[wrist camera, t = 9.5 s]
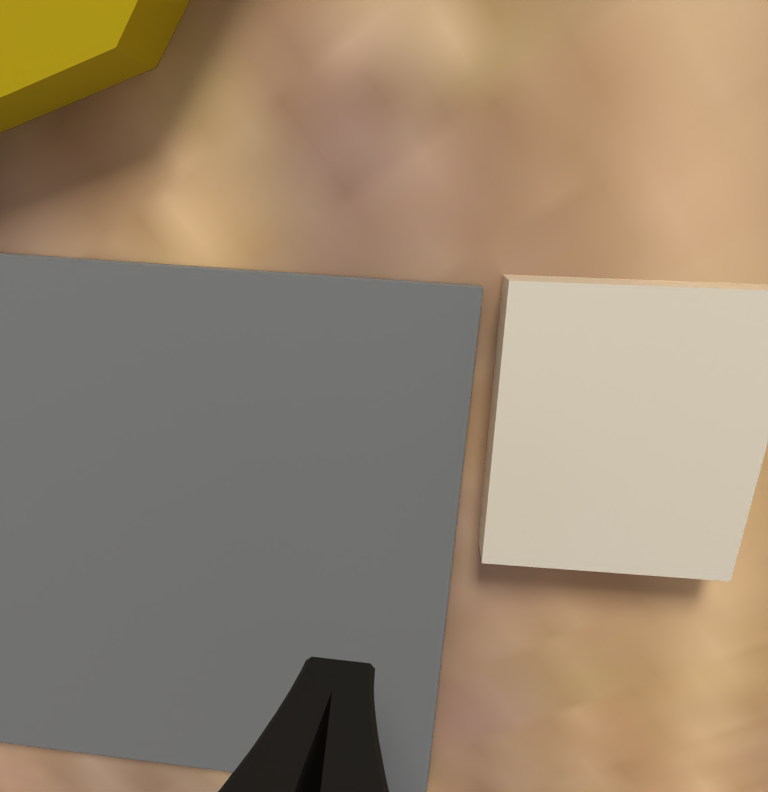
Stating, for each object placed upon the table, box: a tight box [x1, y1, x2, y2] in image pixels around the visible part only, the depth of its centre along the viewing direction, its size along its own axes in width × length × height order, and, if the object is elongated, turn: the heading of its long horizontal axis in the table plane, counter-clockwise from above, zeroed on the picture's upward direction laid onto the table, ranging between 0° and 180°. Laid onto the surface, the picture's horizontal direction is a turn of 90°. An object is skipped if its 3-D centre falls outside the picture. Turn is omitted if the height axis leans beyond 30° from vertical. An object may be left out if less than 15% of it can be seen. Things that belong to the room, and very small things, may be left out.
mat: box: [0, 253, 483, 792], centre depth 16 cm, size 16×16×1 cm
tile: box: [478, 275, 768, 581], centre depth 14 cm, size 7×2×6 cm
